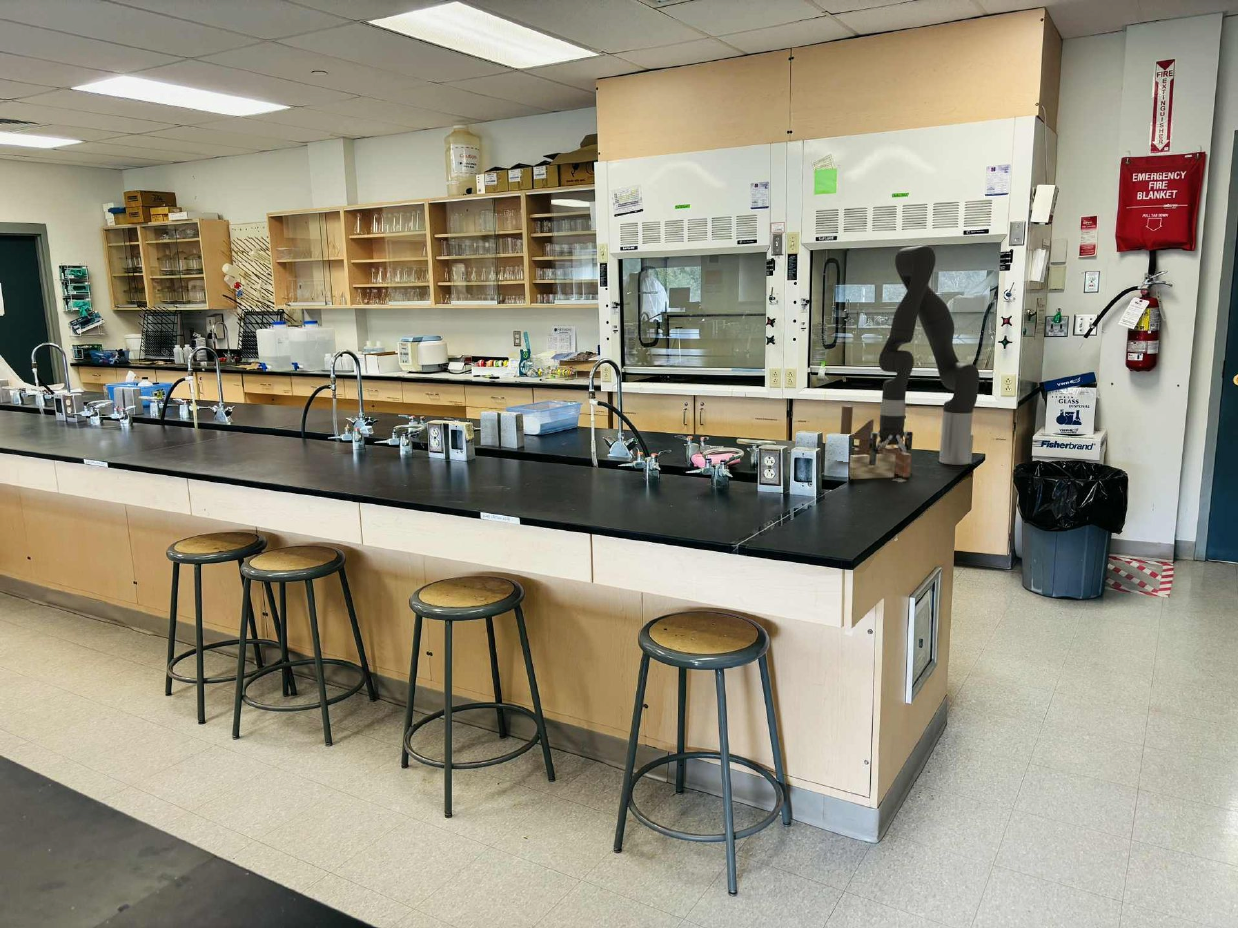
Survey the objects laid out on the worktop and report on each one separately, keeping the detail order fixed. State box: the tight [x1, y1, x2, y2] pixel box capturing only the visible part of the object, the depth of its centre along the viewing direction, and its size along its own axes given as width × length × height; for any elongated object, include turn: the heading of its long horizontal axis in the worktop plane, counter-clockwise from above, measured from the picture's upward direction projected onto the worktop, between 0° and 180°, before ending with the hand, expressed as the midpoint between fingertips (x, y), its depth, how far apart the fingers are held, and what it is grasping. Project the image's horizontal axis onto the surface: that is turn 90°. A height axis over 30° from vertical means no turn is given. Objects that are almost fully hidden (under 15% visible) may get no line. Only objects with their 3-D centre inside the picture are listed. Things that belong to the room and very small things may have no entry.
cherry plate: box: [882, 446, 912, 478], centre depth 273 cm, size 2×13×7 cm, turn 12°
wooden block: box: [840, 404, 875, 462], centre depth 292 cm, size 4×11×18 cm, turn 56°
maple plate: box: [848, 453, 896, 480], centre depth 266 cm, size 14×2×7 cm, turn 102°
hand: (889, 463), depth 277 cm, fingers open, 7 cm apart
